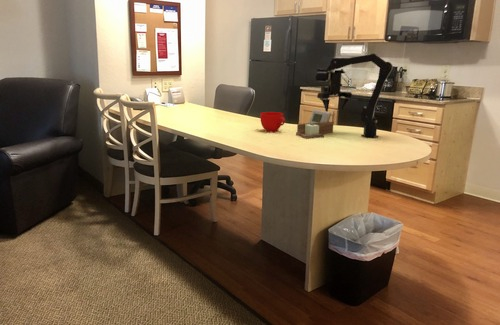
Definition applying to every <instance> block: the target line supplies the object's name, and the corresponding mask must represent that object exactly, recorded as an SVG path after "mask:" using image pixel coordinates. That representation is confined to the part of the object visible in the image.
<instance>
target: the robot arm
mask: <svg viewBox="0 0 500 325" xmlns="http://www.w3.org/2000/svg"><path fill="white" fill-rule="evenodd" d="M370 62H371V63H373V64H374V65H375V66H377V67H378V68H379V72H378V76H377V82H376V84H375V86H374V89H373V91H372V94H371V96H370V98H369V101H368V104H367V106H366V105H364V107H363V108H362V111H361V113H360V118H361V121H362V122H363V123H364V125H363V126H364V127H363V134H360V135H361V136H362V137H365V138H379V135H377V130H378V126H377V123H378V120H377V118H376V117H375V110H376V105H377V103H378V100H379V97H380V95H381V92H382V90H383V89H384V88H383V87H384V85H385V83H386V80H388V77H389V76H390V74H391V72H392V71H393V68H394V66H393V64H392V62H390V61H385V60H384V59H383V58H381V57H380V56H378V54H376V53H370V54H364V55H357V56H353V57H334V58H332V59H331V60H330V64H329V65H328V67H327V68H317V69H316V75H315V81H316V82H320V83H321V82H325V83H327V82H328V81H329V83H328V85H327V86H326V85H322V86H320V92H318V94H317V96H316V97H317V99H319V100H320V101H321V102H322V103H323V106H324V111H326V112H329V107H330V100H331V99H329V98H339V100H340V101H339V102H340V104H339V110H340V112H341V111H343V109H344V107H345V105H346V104H347V102H348V101H349V100H350V99H351V98H352V97H353V93H352V92H351V91H350V92H349V91H341V90H342V88H341V87H343V84H342V74H346V71H345V70H344V69H343V68H346V67H347V66H350V65H356V64H362V63H370Z"/></svg>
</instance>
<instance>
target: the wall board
mask: <svg viewBox="0 0 500 325" xmlns="http://www.w3.org/2000/svg"><path fill="white" fill-rule="evenodd" d="M306 124H310V123H309V122H308V123H298V124H297V128H296V129H297V130H296V131H297V132H295V135H296V136H297V137H299V138H302V139H306V140H309V139H319V138H324V134H332V133H334V121H329V122H320V123H313V124H315V125H318V126H319V134H315V135H305V125H306Z"/></svg>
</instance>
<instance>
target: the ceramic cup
mask: <svg viewBox="0 0 500 325" xmlns="http://www.w3.org/2000/svg"><path fill="white" fill-rule="evenodd" d="M259 114H260V115H259V116H260V118H259V120H260V124H261V126H262V128H263V129H264V131H265V132H269V133H275V132H278V130H279V129H280V128H281V127H282V126H284V125H285V123H286V119H285V117H284V113H282V112H277V111H264V112H260V113H259Z"/></svg>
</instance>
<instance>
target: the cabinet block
mask: <svg viewBox="0 0 500 325" xmlns="http://www.w3.org/2000/svg"><path fill="white" fill-rule="evenodd" d="M305 124H306V123H305ZM315 134H319V126H318V125H315V124H313V123H310V124H306V125H305V135H315Z"/></svg>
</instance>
